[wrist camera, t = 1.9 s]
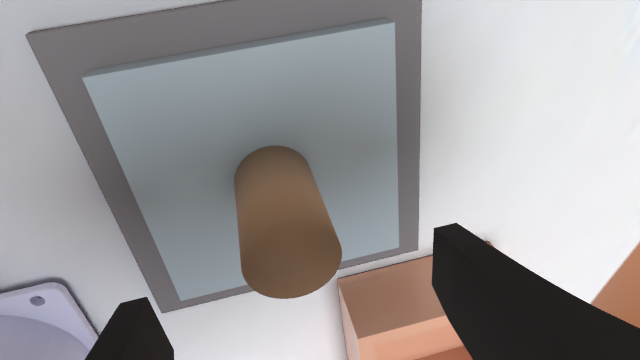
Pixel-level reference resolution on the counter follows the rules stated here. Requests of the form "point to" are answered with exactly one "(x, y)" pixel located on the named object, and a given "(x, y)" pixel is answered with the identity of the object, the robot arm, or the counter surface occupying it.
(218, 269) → the lid
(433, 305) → the tray
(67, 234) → the counter surface
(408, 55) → the mat
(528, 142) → the counter surface
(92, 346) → the robot arm
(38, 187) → the counter surface
